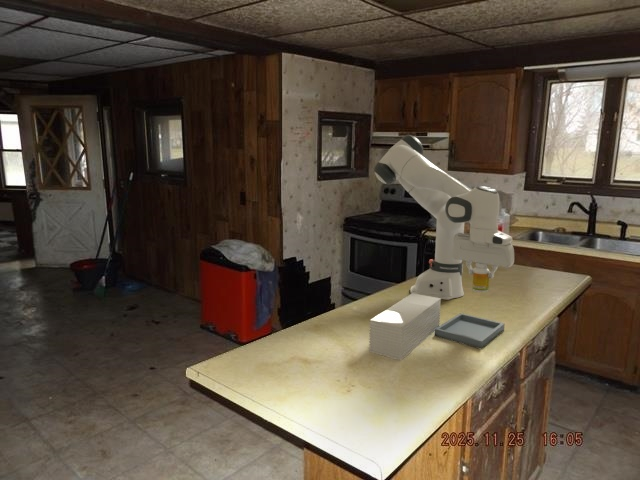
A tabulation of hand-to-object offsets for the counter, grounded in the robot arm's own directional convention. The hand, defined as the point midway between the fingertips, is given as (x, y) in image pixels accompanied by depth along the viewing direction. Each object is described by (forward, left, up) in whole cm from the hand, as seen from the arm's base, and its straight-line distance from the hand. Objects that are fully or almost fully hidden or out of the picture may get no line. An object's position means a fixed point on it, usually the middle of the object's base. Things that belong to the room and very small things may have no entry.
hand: (480, 275), depth 162 cm
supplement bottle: (0, 0, -5) cm, 5 cm away
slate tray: (-3, -4, -19) cm, 20 cm away
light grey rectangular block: (-23, -14, -20) cm, 34 cm away
